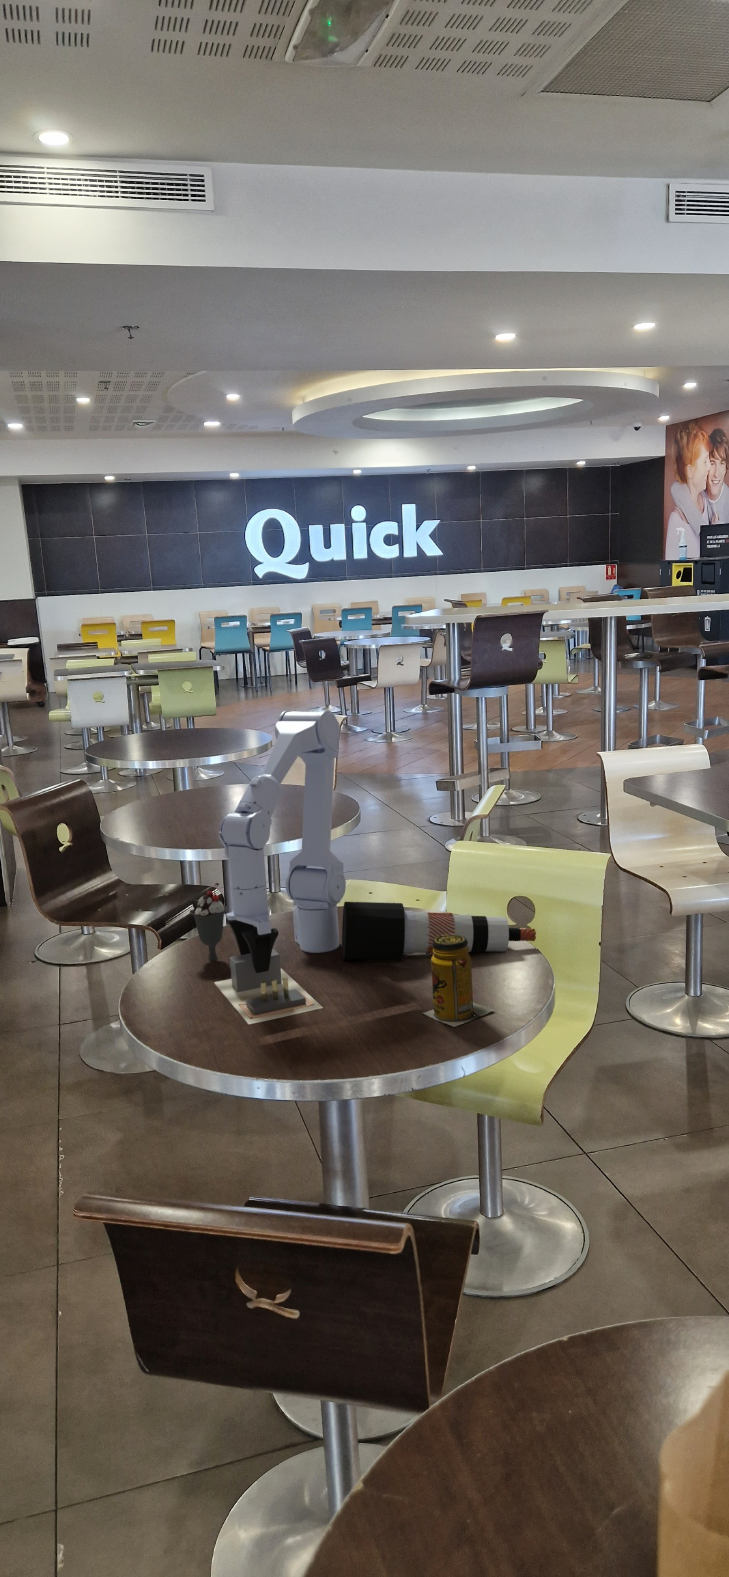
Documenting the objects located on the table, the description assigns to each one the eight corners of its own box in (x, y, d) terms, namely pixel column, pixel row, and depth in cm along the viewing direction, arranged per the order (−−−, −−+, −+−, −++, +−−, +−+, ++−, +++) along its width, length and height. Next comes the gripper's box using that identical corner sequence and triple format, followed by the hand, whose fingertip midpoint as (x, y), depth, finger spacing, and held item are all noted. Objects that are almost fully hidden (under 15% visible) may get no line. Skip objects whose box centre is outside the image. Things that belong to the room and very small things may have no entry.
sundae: (238, 964, 181) (232, 883, 178) (204, 973, 177) (197, 891, 174) (222, 954, 186) (215, 876, 183) (188, 963, 182) (181, 883, 180)
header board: (214, 987, 170) (211, 959, 169) (281, 973, 175) (279, 946, 174) (249, 1030, 152) (246, 999, 151) (323, 1013, 156) (321, 983, 156)
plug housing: (232, 986, 168) (229, 957, 167) (275, 977, 170) (273, 948, 170) (237, 992, 165) (235, 963, 164) (281, 983, 168) (279, 954, 167)
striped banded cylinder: (534, 975, 179) (545, 935, 173) (342, 972, 176) (346, 930, 170) (524, 934, 187) (534, 894, 181) (341, 930, 184) (345, 889, 178)
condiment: (421, 1014, 154) (418, 939, 152) (462, 999, 159) (459, 926, 157) (453, 1028, 148) (450, 950, 146) (495, 1012, 153) (492, 936, 151)
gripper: (213, 878, 170) (219, 956, 172) (237, 899, 156) (244, 982, 159) (253, 872, 172) (259, 948, 175) (280, 892, 159) (286, 974, 161)
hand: (254, 964), depth 167 cm, fingers open, 7 cm apart
